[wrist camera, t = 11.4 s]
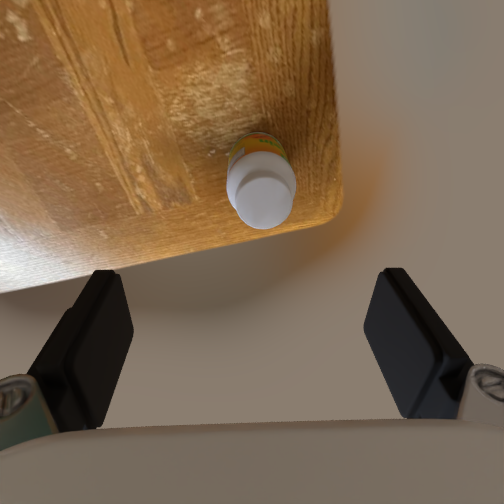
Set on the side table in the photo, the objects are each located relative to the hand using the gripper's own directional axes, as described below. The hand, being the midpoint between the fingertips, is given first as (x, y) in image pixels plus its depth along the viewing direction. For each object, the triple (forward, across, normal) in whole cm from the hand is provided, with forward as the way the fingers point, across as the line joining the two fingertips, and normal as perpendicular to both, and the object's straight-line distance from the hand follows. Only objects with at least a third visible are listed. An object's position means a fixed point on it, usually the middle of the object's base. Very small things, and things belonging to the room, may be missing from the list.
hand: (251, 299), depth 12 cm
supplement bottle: (+21, -2, +1) cm, 21 cm away
